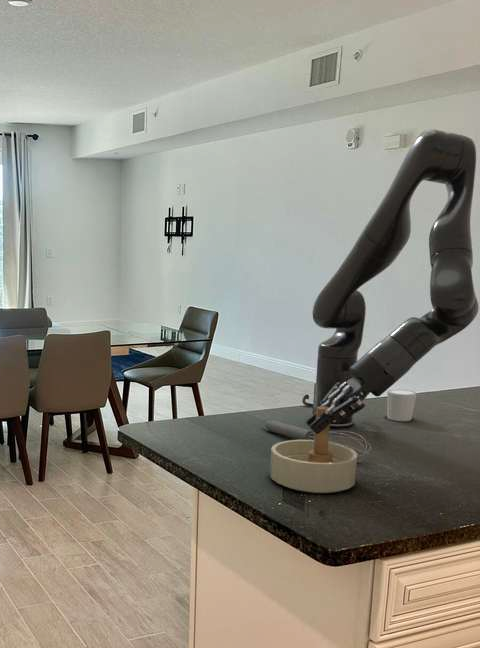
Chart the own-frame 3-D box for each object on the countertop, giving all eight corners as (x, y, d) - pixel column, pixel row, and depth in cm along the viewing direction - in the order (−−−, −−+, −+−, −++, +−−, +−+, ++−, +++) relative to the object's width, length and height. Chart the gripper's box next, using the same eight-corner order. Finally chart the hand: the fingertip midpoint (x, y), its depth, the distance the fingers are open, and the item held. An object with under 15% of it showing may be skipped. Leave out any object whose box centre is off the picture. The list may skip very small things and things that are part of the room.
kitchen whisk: (273, 426, 174) (274, 402, 173) (377, 467, 144) (379, 437, 142) (252, 429, 172) (254, 404, 170) (353, 471, 142) (356, 441, 140)
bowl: (256, 471, 142) (257, 442, 141) (326, 465, 145) (328, 437, 144) (294, 498, 127) (296, 467, 126) (372, 491, 130) (374, 460, 129)
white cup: (418, 421, 177) (421, 394, 176) (391, 422, 177) (394, 394, 176) (406, 414, 184) (409, 388, 182) (380, 415, 184) (382, 389, 182)
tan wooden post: (303, 461, 138) (307, 405, 136) (323, 460, 139) (327, 404, 137) (315, 468, 134) (319, 411, 132) (336, 467, 135) (340, 409, 132)
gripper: (358, 346, 138) (290, 406, 142) (381, 358, 124) (305, 424, 128) (383, 372, 138) (315, 431, 142) (409, 388, 125) (333, 452, 129)
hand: (311, 428), depth 135 cm, fingers closed on tan wooden post, 2 cm apart
